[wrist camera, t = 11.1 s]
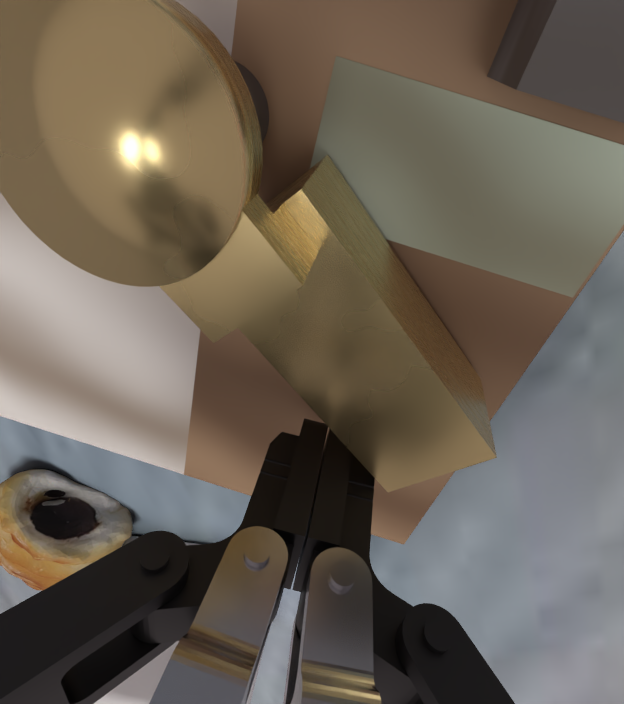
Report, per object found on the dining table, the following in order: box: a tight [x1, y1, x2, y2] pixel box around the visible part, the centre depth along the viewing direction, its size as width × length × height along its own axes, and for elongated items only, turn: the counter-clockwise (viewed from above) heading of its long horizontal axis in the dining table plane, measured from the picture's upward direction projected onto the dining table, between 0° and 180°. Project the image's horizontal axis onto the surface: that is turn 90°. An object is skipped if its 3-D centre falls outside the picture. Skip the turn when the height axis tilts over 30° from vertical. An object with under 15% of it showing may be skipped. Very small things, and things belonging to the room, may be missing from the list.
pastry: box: [0, 469, 133, 590], centre depth 23 cm, size 9×7×4 cm
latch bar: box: [0, 0, 497, 492], centre depth 9 cm, size 11×4×4 cm, turn 39°
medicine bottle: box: [94, 536, 263, 704], centre depth 20 cm, size 7×7×12 cm
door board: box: [0, 0, 624, 544], centre depth 10 cm, size 22×18×5 cm
